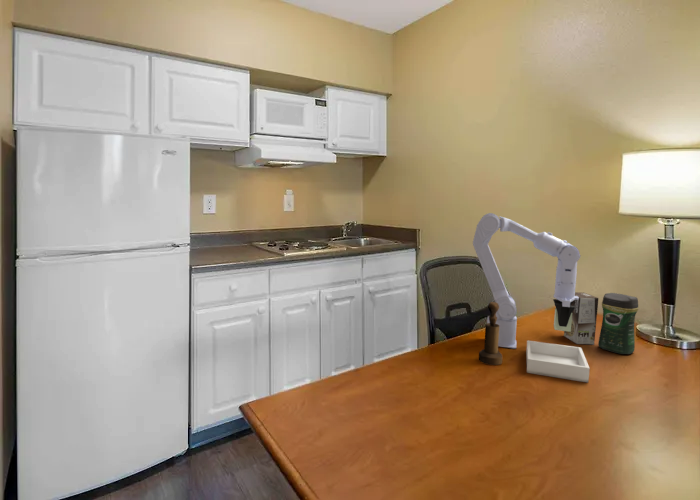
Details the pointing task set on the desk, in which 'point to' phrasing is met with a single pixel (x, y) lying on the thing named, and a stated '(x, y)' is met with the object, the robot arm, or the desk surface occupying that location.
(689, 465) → the desk surface
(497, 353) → the wooden pepper mill
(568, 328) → the green block
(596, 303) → the coffee box
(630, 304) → the coffee jar
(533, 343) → the white bin
